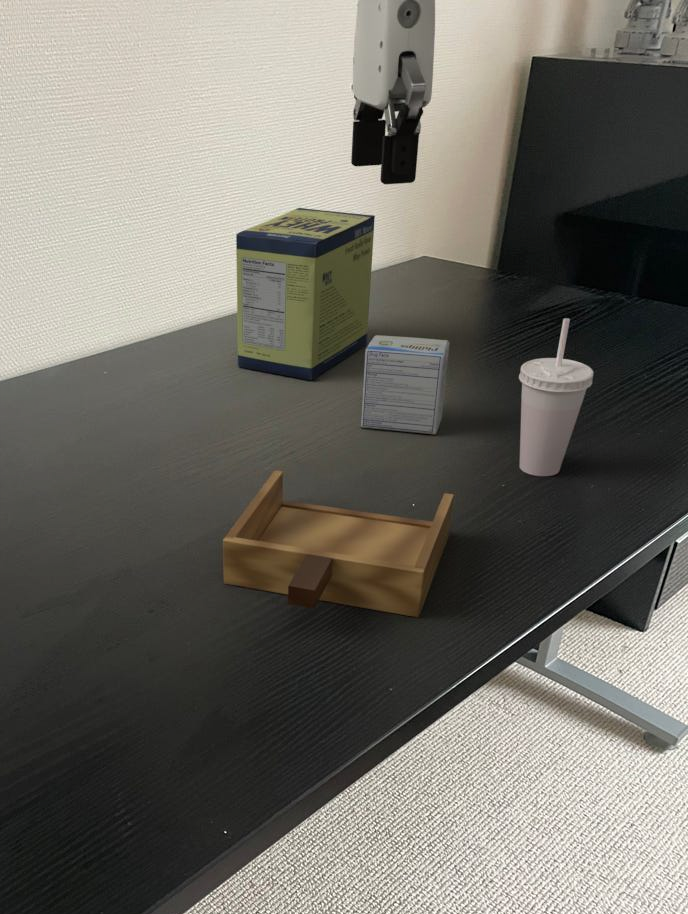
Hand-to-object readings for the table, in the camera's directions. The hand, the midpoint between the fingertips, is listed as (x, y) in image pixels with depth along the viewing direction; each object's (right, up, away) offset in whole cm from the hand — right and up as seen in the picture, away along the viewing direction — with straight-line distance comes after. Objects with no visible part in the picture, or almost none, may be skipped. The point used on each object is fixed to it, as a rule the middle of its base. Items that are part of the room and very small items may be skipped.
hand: (381, 173), depth 95 cm
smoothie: (+15, -29, -1) cm, 33 cm away
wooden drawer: (-7, -40, -16) cm, 43 cm away
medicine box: (+4, -23, +9) cm, 25 cm away
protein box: (-5, -10, +27) cm, 29 cm away
